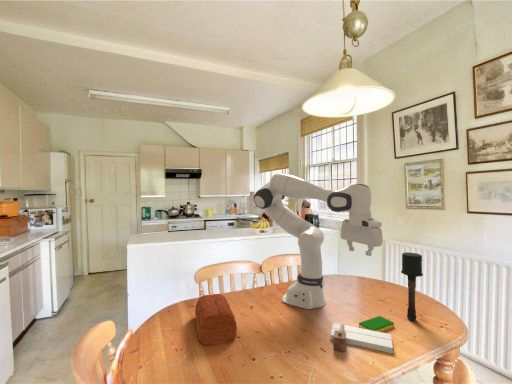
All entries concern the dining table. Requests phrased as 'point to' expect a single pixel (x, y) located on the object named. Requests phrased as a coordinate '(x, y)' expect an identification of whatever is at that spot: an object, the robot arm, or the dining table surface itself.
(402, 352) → the dining table surface
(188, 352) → the dining table surface
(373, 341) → the board
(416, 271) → the potato masher grenade
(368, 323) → the dish sponge
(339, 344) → the block
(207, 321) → the bread
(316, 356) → the dining table surface
